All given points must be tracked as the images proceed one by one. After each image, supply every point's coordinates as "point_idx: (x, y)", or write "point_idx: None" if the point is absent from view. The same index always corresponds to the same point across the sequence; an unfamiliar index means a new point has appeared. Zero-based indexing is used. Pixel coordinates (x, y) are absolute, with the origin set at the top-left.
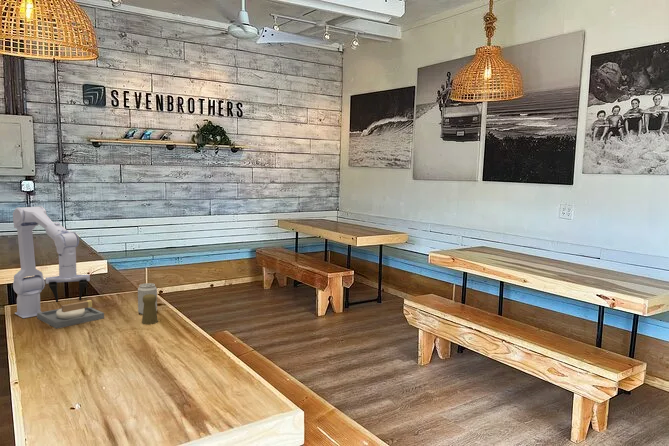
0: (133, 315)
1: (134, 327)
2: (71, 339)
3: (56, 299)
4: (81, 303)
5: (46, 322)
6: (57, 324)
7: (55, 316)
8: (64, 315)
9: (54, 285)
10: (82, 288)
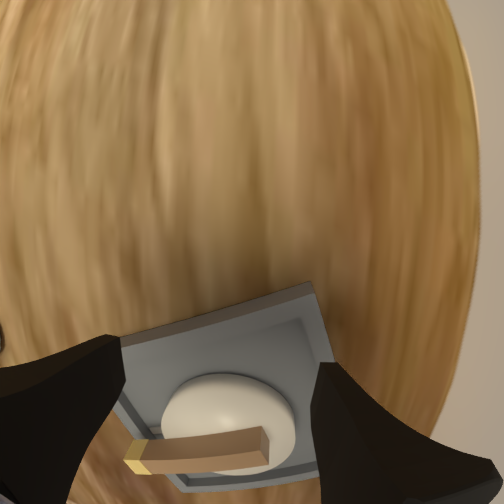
0: (10, 318)
1: (3, 150)
2: (244, 52)
3: (340, 374)
4: (168, 457)
5: None
6: (305, 291)
7: (295, 434)
8: (260, 393)
9: (449, 494)
10: (3, 373)
